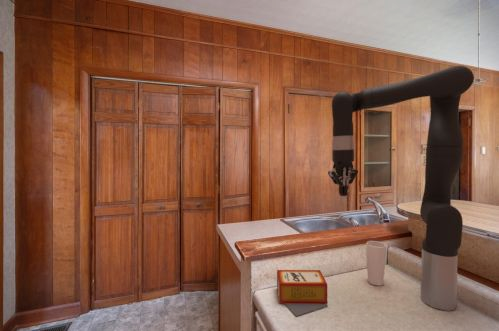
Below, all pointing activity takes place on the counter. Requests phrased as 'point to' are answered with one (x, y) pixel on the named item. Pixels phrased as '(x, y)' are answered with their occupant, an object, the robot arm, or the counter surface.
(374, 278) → the pinkish beige cup
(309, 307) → the mat
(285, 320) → the counter surface
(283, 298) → the baking soda box
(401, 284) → the counter surface
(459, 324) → the counter surface
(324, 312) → the counter surface
